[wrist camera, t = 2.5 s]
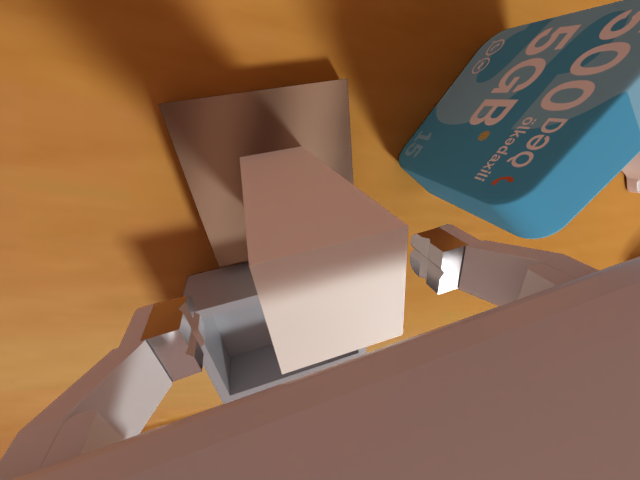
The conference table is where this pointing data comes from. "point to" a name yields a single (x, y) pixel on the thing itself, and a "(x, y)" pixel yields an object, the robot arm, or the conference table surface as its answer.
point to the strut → (320, 258)
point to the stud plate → (253, 147)
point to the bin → (240, 334)
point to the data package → (536, 121)
